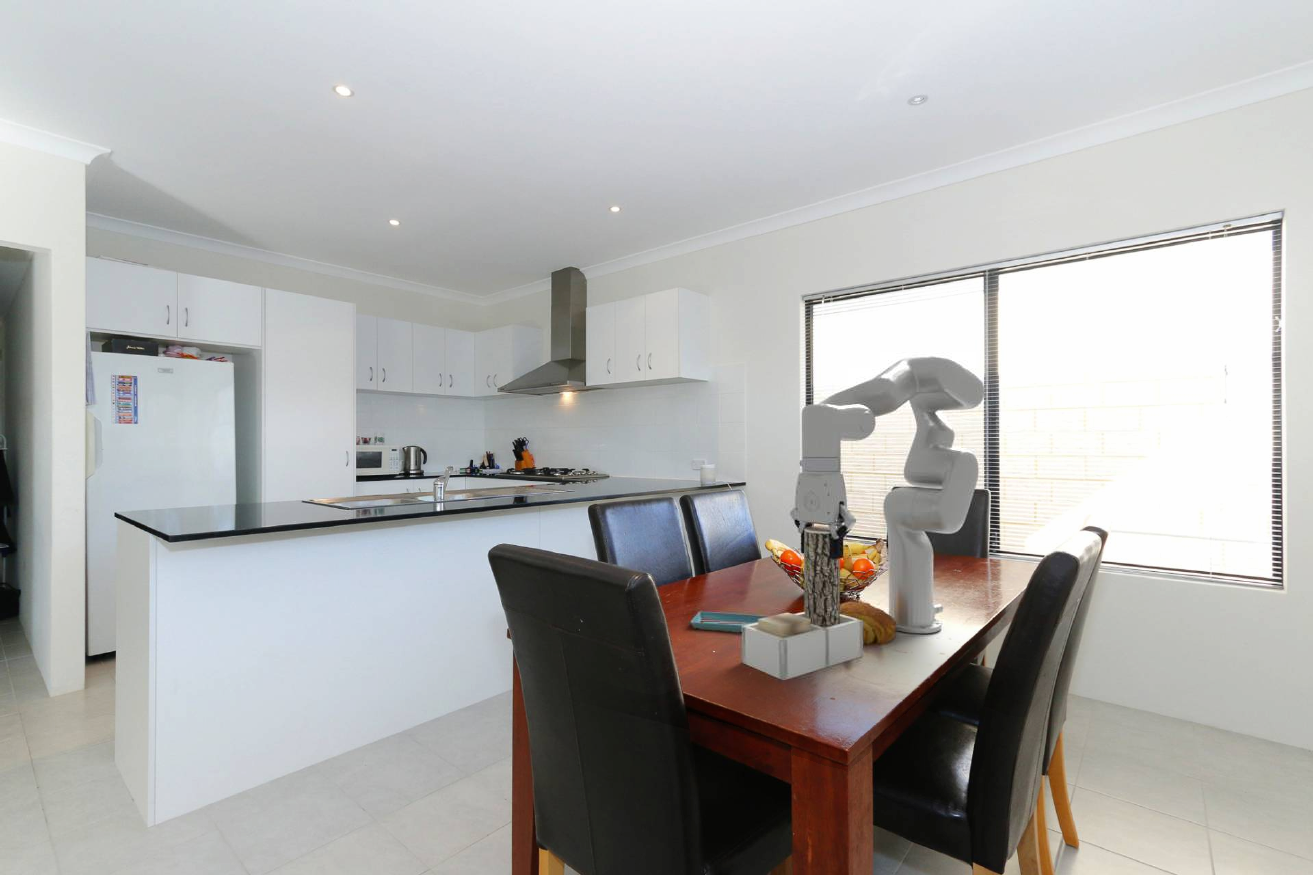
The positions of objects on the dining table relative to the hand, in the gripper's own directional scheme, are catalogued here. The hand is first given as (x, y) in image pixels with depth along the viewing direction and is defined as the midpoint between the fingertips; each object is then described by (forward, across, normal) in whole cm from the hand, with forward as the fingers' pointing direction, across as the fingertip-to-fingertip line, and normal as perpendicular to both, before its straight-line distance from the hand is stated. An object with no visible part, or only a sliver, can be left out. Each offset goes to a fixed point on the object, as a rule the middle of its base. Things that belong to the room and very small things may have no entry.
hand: (821, 554), depth 125 cm
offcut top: (+14, 0, -11) cm, 18 cm away
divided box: (+20, 0, -6) cm, 21 cm away
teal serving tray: (+20, -21, 0) cm, 29 cm away
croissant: (+20, -3, +16) cm, 26 cm away
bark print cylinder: (+20, 0, 0) cm, 20 cm away
